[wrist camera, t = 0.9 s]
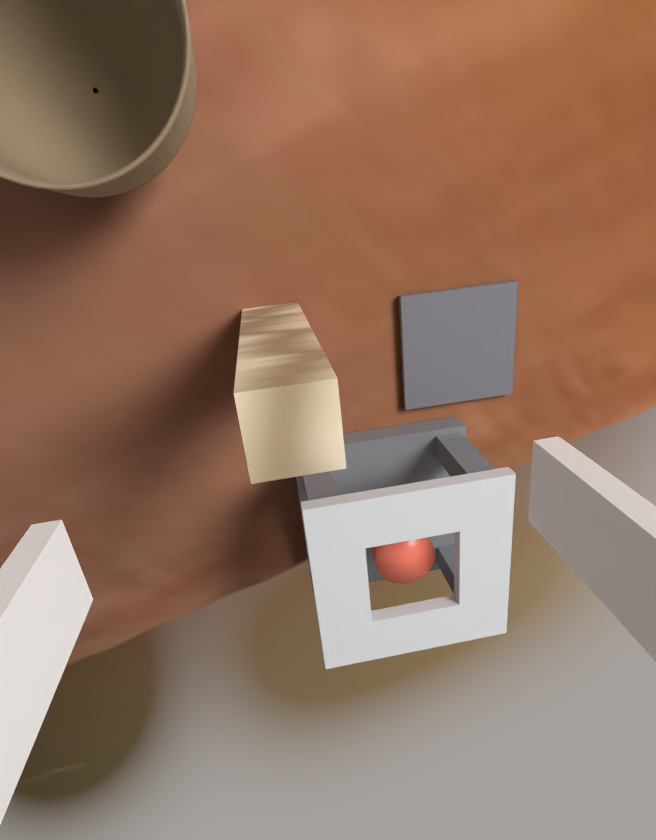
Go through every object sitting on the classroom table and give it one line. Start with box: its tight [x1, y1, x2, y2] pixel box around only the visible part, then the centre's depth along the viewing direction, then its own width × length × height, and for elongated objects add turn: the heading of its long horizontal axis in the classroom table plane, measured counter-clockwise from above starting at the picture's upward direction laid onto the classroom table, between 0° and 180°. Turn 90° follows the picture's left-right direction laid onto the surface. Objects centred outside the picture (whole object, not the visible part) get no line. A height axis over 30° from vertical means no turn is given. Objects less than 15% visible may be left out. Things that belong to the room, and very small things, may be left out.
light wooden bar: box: [234, 302, 346, 484], centre depth 28 cm, size 4×4×18 cm
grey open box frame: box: [296, 416, 516, 669], centre depth 38 cm, size 14×14×10 cm
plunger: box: [370, 537, 435, 583], centre depth 38 cm, size 4×4×5 cm
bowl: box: [0, 0, 197, 197], centre depth 24 cm, size 13×13×10 cm
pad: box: [399, 280, 518, 410], centre depth 38 cm, size 9×9×1 cm
